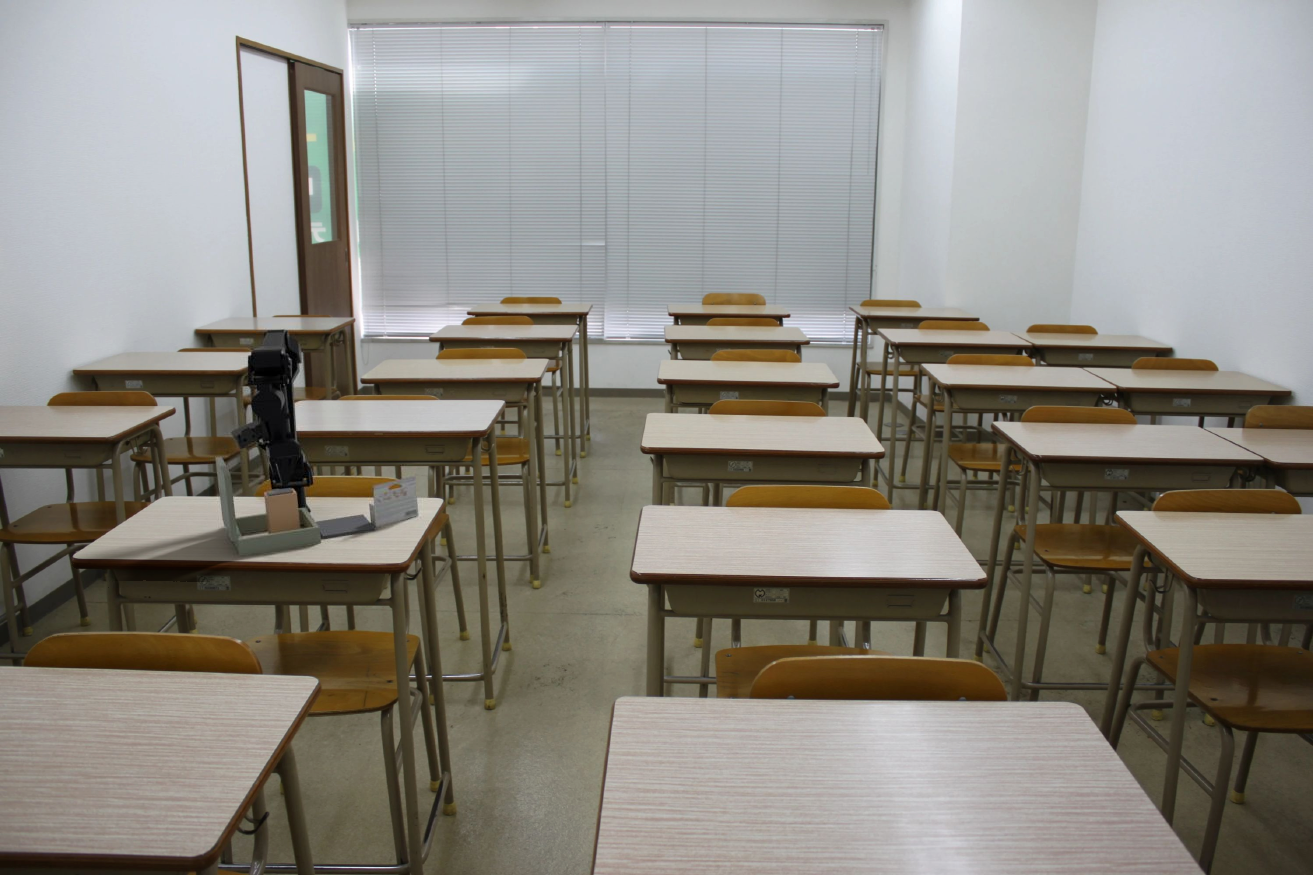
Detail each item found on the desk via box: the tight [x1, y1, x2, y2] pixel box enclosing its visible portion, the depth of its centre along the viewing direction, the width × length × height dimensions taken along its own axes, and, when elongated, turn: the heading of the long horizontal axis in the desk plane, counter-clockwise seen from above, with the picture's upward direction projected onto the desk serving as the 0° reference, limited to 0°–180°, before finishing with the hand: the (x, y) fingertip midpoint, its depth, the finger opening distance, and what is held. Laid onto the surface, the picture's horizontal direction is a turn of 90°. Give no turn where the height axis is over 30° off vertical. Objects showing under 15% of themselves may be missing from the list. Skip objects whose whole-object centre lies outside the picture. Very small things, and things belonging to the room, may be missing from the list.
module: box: [263, 488, 301, 534], centre depth 207 cm, size 4×6×10 cm, turn 120°
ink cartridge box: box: [368, 475, 419, 528], centre depth 218 cm, size 2×11×10 cm, turn 136°
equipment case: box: [214, 456, 322, 557], centre depth 205 cm, size 16×17×18 cm
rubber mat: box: [315, 513, 376, 539], centre depth 214 cm, size 11×11×1 cm
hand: (280, 480), depth 205 cm, fingers open, 9 cm apart
